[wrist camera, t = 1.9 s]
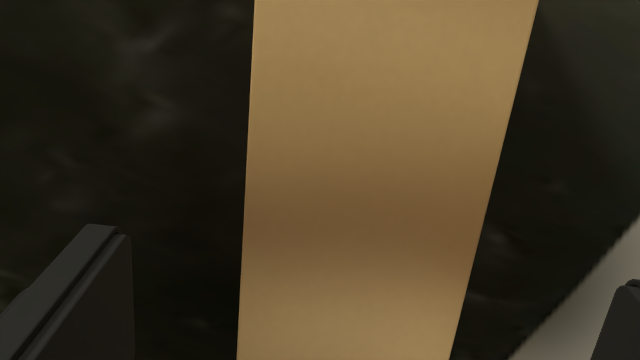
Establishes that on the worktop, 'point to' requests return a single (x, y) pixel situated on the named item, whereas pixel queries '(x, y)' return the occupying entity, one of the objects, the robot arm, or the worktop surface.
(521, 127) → the worktop surface
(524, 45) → the wooden block
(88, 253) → the robot arm
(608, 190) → the worktop surface
